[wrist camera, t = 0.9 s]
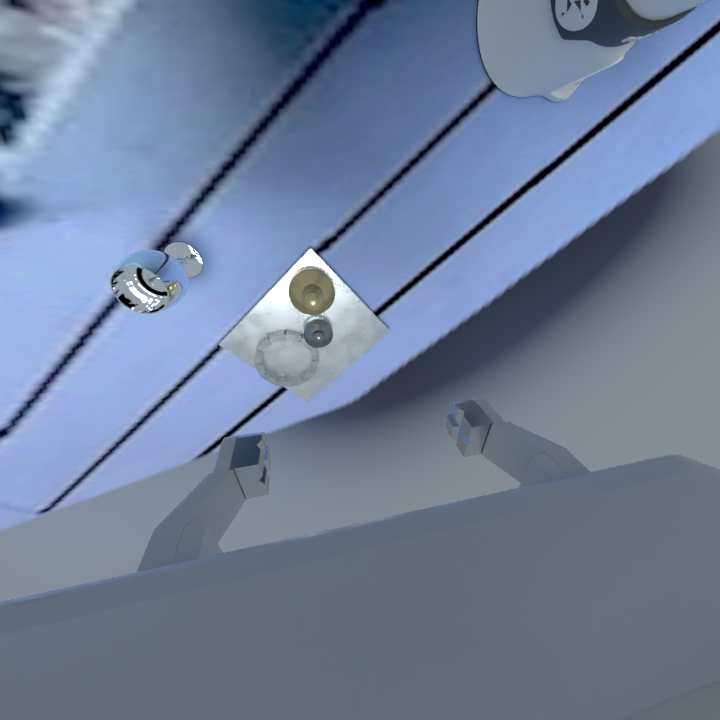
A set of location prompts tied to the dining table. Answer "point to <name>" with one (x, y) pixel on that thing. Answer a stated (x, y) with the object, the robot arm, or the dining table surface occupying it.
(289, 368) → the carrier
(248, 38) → the dining table surface
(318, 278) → the brass flanged cylinder
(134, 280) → the wineglass
